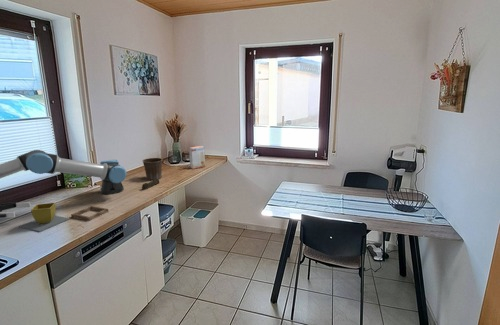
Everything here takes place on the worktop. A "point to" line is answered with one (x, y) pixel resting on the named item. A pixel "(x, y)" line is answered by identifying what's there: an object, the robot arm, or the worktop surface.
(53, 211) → the flower pot
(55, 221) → the mat
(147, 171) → the plant pot
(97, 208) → the square wooden frame
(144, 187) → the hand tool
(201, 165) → the cracker box
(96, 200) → the worktop surface
